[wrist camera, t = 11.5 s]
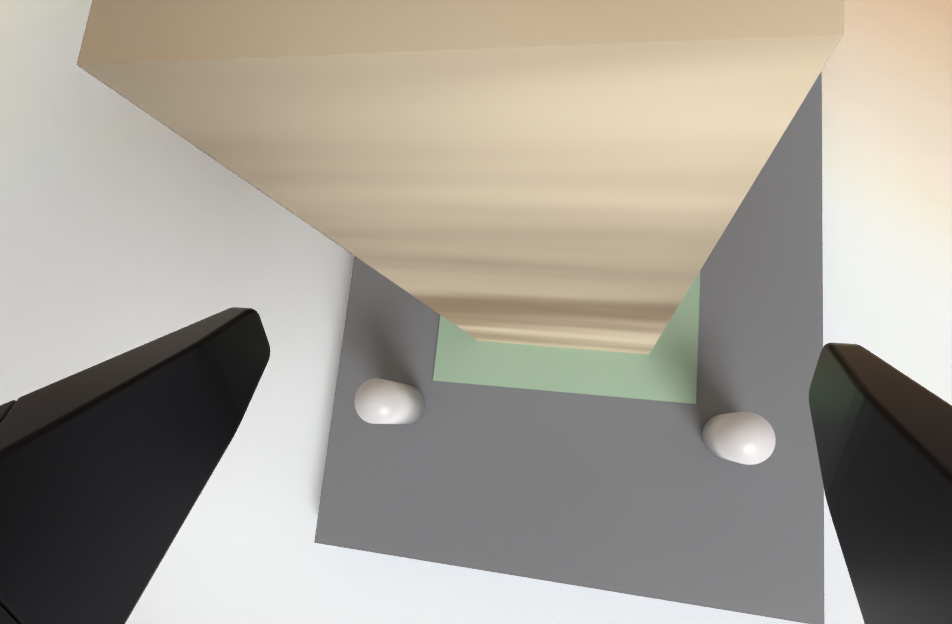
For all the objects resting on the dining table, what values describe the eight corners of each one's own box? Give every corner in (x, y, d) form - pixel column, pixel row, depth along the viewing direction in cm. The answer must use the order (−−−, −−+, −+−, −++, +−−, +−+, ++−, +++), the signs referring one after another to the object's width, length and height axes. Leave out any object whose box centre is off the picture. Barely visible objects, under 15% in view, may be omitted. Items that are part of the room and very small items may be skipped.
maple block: (648, 354, 16) (843, 35, 3) (478, 340, 18) (76, 63, 4) (658, 189, 17) (841, -627, 4) (495, 186, 18) (205, -451, 5)
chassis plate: (810, 614, 15) (868, 665, 12) (329, 536, 19) (268, 560, 15) (809, 11, 19) (855, -81, 15) (398, 34, 22) (360, -38, 18)
